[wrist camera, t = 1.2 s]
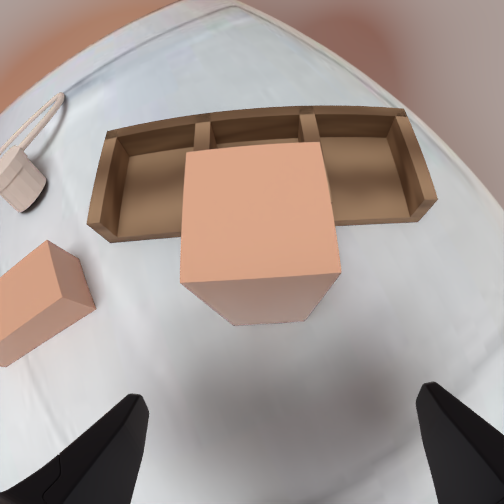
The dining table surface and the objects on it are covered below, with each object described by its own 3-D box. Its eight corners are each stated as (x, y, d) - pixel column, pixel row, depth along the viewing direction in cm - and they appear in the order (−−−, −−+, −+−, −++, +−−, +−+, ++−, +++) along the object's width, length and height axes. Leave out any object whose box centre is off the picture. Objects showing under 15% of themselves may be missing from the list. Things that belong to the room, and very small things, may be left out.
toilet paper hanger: (59, 89, 33) (77, 100, 24) (77, 113, 37) (103, 135, 28) (-36, 188, 29) (-52, 245, 20) (-15, 208, 33) (-21, 269, 24)
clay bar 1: (8, 367, 22) (-28, 363, 17) (-4, 322, 23) (-38, 312, 19) (97, 309, 23) (62, 297, 18) (80, 259, 25) (47, 239, 20)
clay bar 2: (304, 321, 22) (341, 272, 9) (233, 325, 22) (180, 282, 10) (298, 253, 23) (319, 141, 11) (231, 258, 24) (186, 152, 11)
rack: (417, 221, 23) (437, 199, 20) (110, 242, 25) (86, 224, 21) (391, 136, 26) (403, 108, 23) (124, 156, 28) (107, 131, 24)
